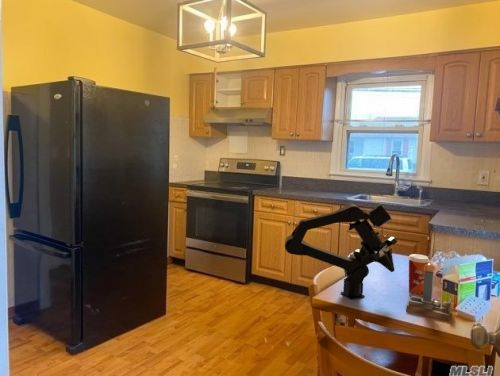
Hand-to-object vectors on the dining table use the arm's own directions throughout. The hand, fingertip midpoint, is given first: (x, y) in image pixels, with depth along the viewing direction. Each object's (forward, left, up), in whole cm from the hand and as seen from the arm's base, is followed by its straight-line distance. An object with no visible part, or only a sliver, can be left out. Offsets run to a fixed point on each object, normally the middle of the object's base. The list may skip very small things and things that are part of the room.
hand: (393, 271), depth 137 cm
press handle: (+6, -12, -9) cm, 16 cm away
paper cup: (+18, +5, -12) cm, 22 cm away
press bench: (+6, -11, -11) cm, 17 cm away
